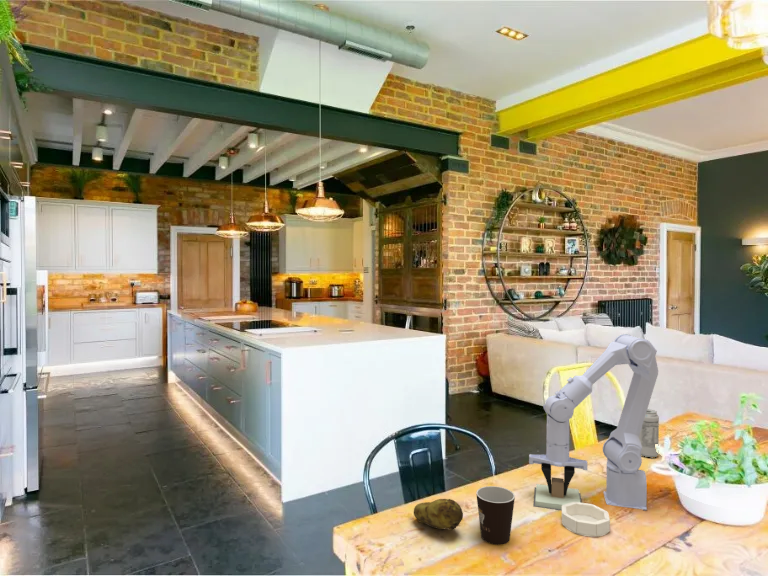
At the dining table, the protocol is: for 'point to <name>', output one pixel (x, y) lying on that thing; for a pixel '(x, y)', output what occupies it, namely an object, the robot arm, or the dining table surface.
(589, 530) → the dish
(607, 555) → the dining table surface
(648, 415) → the energy drink can
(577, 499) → the lid
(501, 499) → the coffee mug
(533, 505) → the mat
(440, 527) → the potato
